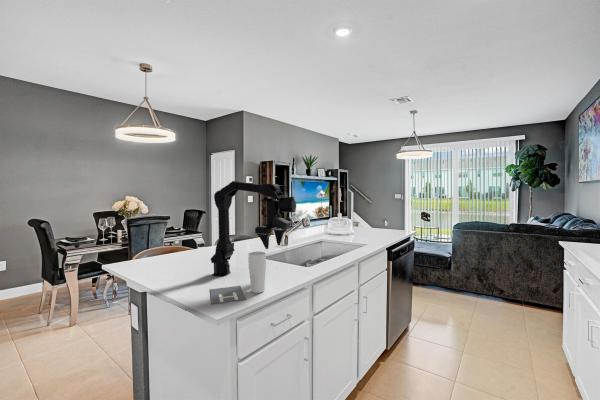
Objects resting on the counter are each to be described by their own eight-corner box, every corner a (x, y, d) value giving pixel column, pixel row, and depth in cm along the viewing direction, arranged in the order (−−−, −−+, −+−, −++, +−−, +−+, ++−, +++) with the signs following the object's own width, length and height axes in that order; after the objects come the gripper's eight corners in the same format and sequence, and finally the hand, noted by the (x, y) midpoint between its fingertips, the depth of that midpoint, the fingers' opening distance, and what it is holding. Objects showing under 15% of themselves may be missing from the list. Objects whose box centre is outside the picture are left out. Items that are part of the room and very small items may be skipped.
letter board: (210, 290, 118) (210, 289, 118) (240, 286, 122) (240, 285, 122) (211, 304, 103) (211, 303, 103) (246, 299, 107) (246, 298, 107)
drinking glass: (249, 288, 118) (249, 251, 118) (266, 288, 119) (266, 251, 118) (248, 294, 112) (247, 255, 111) (266, 293, 112) (265, 254, 112)
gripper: (275, 214, 118) (276, 253, 119) (298, 211, 135) (299, 245, 135) (253, 213, 124) (254, 250, 124) (278, 210, 140) (278, 243, 141)
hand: (273, 247), depth 131 cm, fingers open, 9 cm apart
